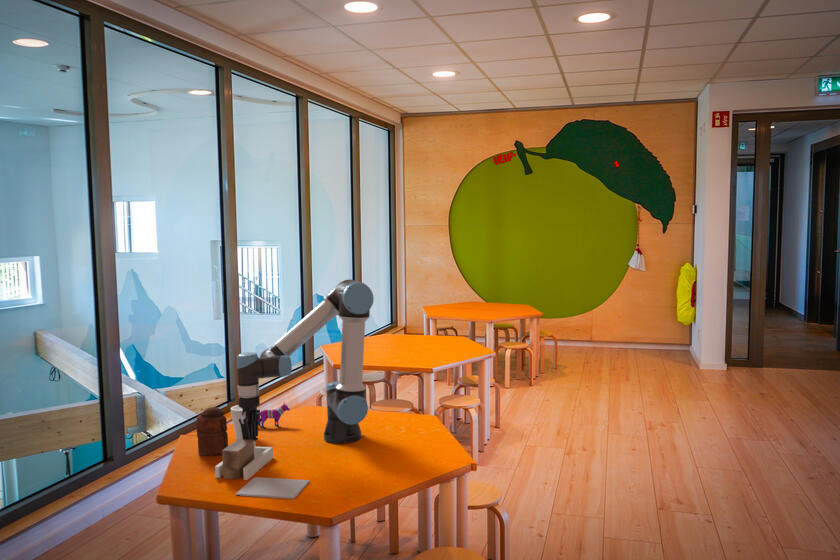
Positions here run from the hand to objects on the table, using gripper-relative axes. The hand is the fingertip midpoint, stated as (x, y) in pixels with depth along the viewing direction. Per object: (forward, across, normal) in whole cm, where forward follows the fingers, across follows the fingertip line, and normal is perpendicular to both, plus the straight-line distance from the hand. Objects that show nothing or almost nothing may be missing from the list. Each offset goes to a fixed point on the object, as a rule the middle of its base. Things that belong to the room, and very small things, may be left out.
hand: (251, 458), depth 250 cm
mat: (+1, +22, +18) cm, 29 cm away
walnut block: (+2, +10, 0) cm, 10 cm away
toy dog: (+2, -40, -11) cm, 42 cm away
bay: (+2, +6, 0) cm, 6 cm away
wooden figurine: (+2, -7, -19) cm, 20 cm away
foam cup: (+2, -25, -15) cm, 29 cm away
